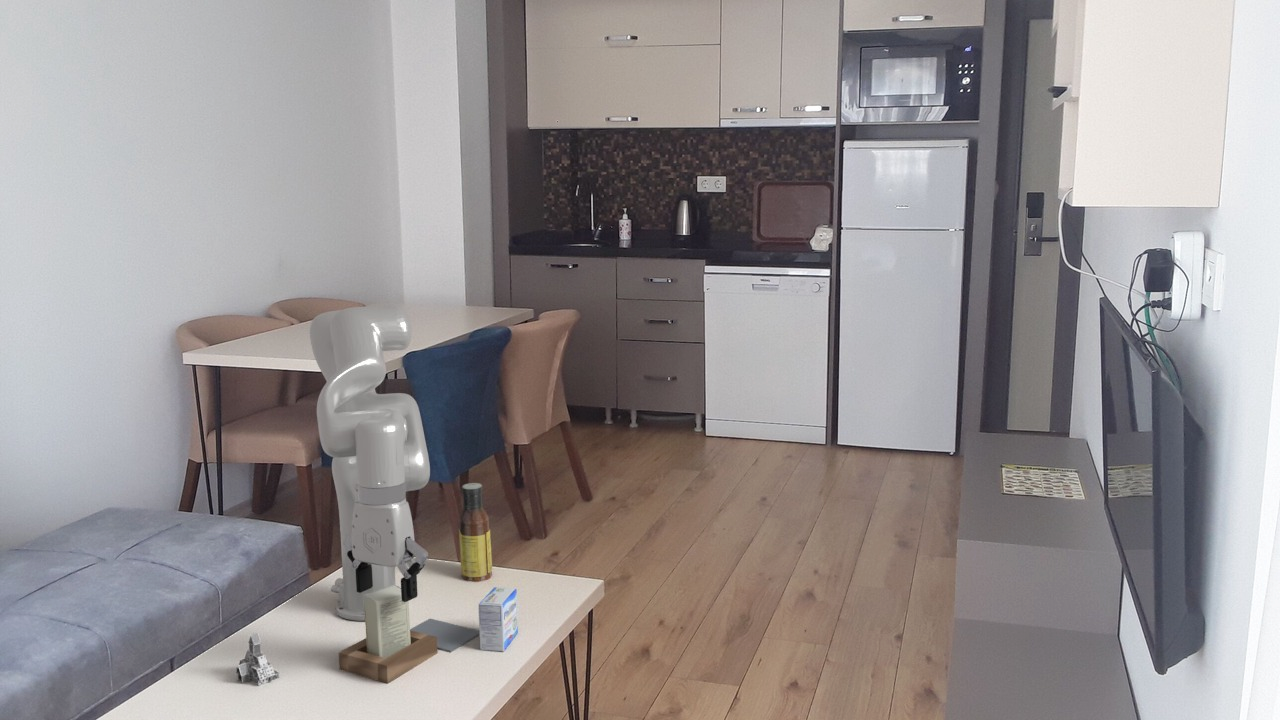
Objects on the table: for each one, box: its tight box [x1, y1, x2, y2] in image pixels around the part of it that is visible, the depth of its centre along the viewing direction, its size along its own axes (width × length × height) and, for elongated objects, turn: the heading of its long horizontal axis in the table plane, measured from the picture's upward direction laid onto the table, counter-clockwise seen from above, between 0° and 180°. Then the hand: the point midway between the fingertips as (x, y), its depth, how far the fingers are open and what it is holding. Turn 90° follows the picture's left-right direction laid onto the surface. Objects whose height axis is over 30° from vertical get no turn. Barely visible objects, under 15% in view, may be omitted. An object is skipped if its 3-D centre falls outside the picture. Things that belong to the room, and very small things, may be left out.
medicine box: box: [478, 586, 519, 652], centre depth 183 cm, size 8×4×9 cm, turn 168°
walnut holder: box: [338, 630, 439, 684], centre depth 176 cm, size 10×12×3 cm
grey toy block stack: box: [235, 632, 281, 687], centre depth 170 cm, size 9×9×8 cm
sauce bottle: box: [458, 482, 493, 583], centre depth 211 cm, size 7×6×20 cm
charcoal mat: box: [410, 618, 480, 653], centre depth 186 cm, size 12×9×1 cm
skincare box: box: [364, 585, 411, 658], centre depth 175 cm, size 6×4×12 cm
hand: (387, 594), depth 174 cm, fingers open, 9 cm apart
